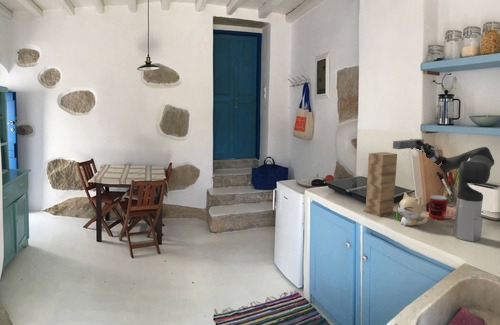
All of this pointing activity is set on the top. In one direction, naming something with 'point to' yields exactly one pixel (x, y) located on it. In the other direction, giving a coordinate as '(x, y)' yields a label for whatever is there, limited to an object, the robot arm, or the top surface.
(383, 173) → the stand
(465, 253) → the top surface
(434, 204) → the canned food
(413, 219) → the kitten
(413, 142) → the block
